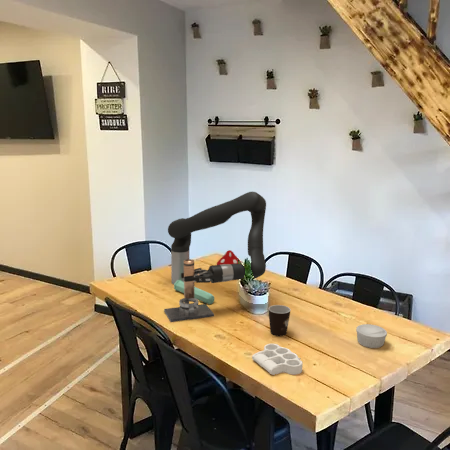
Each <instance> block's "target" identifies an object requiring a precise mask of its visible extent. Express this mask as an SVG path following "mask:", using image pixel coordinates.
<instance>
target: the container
mask: <svg viewBox="0 0 450 450" xmlns="http://www.w3.org/2000/svg"><path fill="white" fill-rule="evenodd" d="M173 289H174V290H175V292H180V293H182V294H184V282H183V281H182V280H177V281H176V282H175V284H173ZM194 290H195V297H194V298H196V299H198V301H199V302H201V303H203V304H206V305H211V304H214V302H215V296H214V295H213V294H212V293H210V292H208V291H205V290H203V289H200V288H198V287H196V286H194Z"/></svg>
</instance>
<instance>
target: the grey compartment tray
mask: <svg viewBox="0 0 450 450" xmlns="http://www.w3.org/2000/svg"><path fill="white" fill-rule="evenodd" d="M251 359H252V361H254V362H255V363H257V364H258V365H259V366H260V367H261V368H263V369H264V370H266V371H267V372H268V373H269V374H270V375H273V376H276V375H278V374H283V373H285V374H288V375H300V374H301V373H303V366H304V365H303V361H302V360H301V357H299V356H298V354H296V353H295V352H293V351H292V350H291V349H289V348H287V347H282V346H281V345H279V344H278V343H267V344H265V345H264V346H263V350H259V351H258V352H255V353H253V354H252V356H251ZM275 374H276V375H275Z"/></svg>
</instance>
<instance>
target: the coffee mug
mask: <svg viewBox="0 0 450 450" xmlns="http://www.w3.org/2000/svg"><path fill="white" fill-rule="evenodd" d="M291 310H292V309H291V308H290V307H289V306H287V305H282V304H281V305H280V304H274V305H270V306H269V307H268V320H269V332H270V334H271V335H272V336H274V337H284V336H287V335H288V334H287V332H288V327H289V323H290V322H289V321H290V315H291Z"/></svg>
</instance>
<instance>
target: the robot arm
mask: <svg viewBox="0 0 450 450" xmlns="http://www.w3.org/2000/svg"><path fill="white" fill-rule="evenodd" d="M266 211H267V201H266V199H265V198H264V197H263V196H262V195H260V194H259V193H258V192H256V191H248V192H245V193H244V194H242V195H240V196H239V195H238V196H237V197H236V198H233V199H231V200H228V201H225V202H223V203H221V204H217V205H215V206H211V207H208V208H206V209H204V210H202V211H200V212H198V213H196V214H194V215H192V216H189V217H187V218H178V219H175V220H173V221H171V223H170V224H169V225H168V227H167V233H168V235H169V236H170V237H171V238H174V240H173V242H172V244H171V246H170V253H171V254H170V257H171V262H170V263H171V264H170V265H171V267H170V269H171V272H170V273H171V276H170V277H171V284H172V285H174V284H175V282H176V281H177V280H182V281H183V282H184V281H185V282H189V281H194V283H196V284H199V283H200V284H201V283H202V284H203V283H204V284H207V283H208V284H209V283H211V284H215V283H216V284H217V283H224V282H230V281H237V280H243V279H242V278H244V275H245V268H244V266H243V265H244V264H243V265H242V264H222V265H217V264H214V265H212V264H211V265H209V267H208V269H204V268H202V267H198V268H194V276H185V277H184V264H183V263H184V260H187V259H190V246H191V243H192V233H194V232H197V231H202V230H206V229H210V228H214V227H216V226H219V225H222V224H225V223H226V222H228V221H229V220H230V219H231V217H233V216H235V215H237V214H239V213H243V212H249V213H250V216H251V226H250V229H249V233H248V236H247V255H248V256H249V257H250V264H251V270H252V272H253V276H254V278H255V279H257V278H260V277H261V276H263V275H264V274H265V273H266V270H267V269H266V268H267V263H266V259H265V254H264V225H265V217H266V216H265V215H266Z"/></svg>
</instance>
